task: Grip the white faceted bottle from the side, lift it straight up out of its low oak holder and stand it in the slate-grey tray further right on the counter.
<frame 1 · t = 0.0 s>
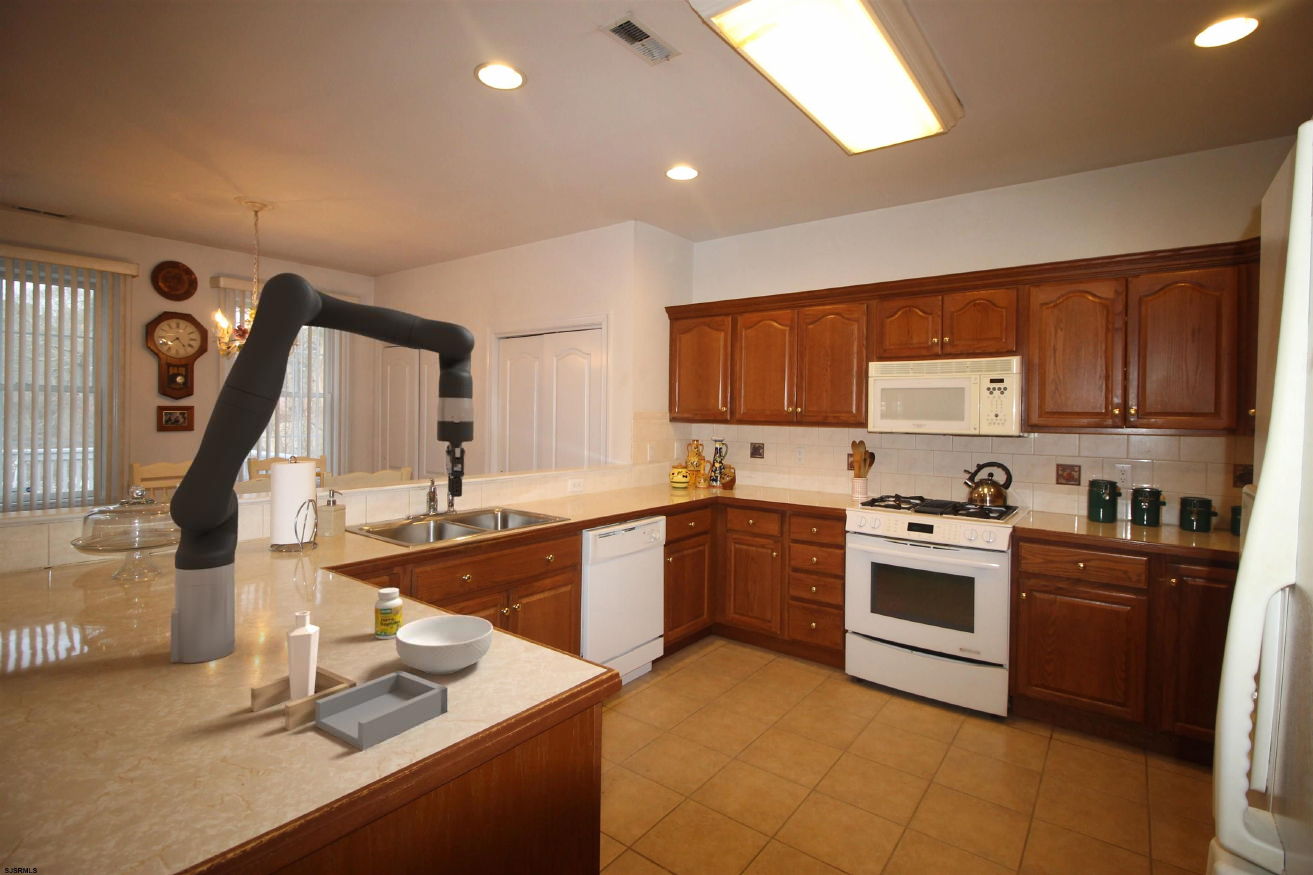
hand: (454, 494, 135), 29 cm above the counter, tool pointing down, fingers open, 8 cm apart
grey tray: (383, 718, 94), on the counter
cereal bowl: (445, 667, 115), on the counter
oak holder: (300, 708, 97), on the counter
white faceted bottle: (300, 709, 97), on the counter
supplement bottle: (388, 636, 130), on the counter
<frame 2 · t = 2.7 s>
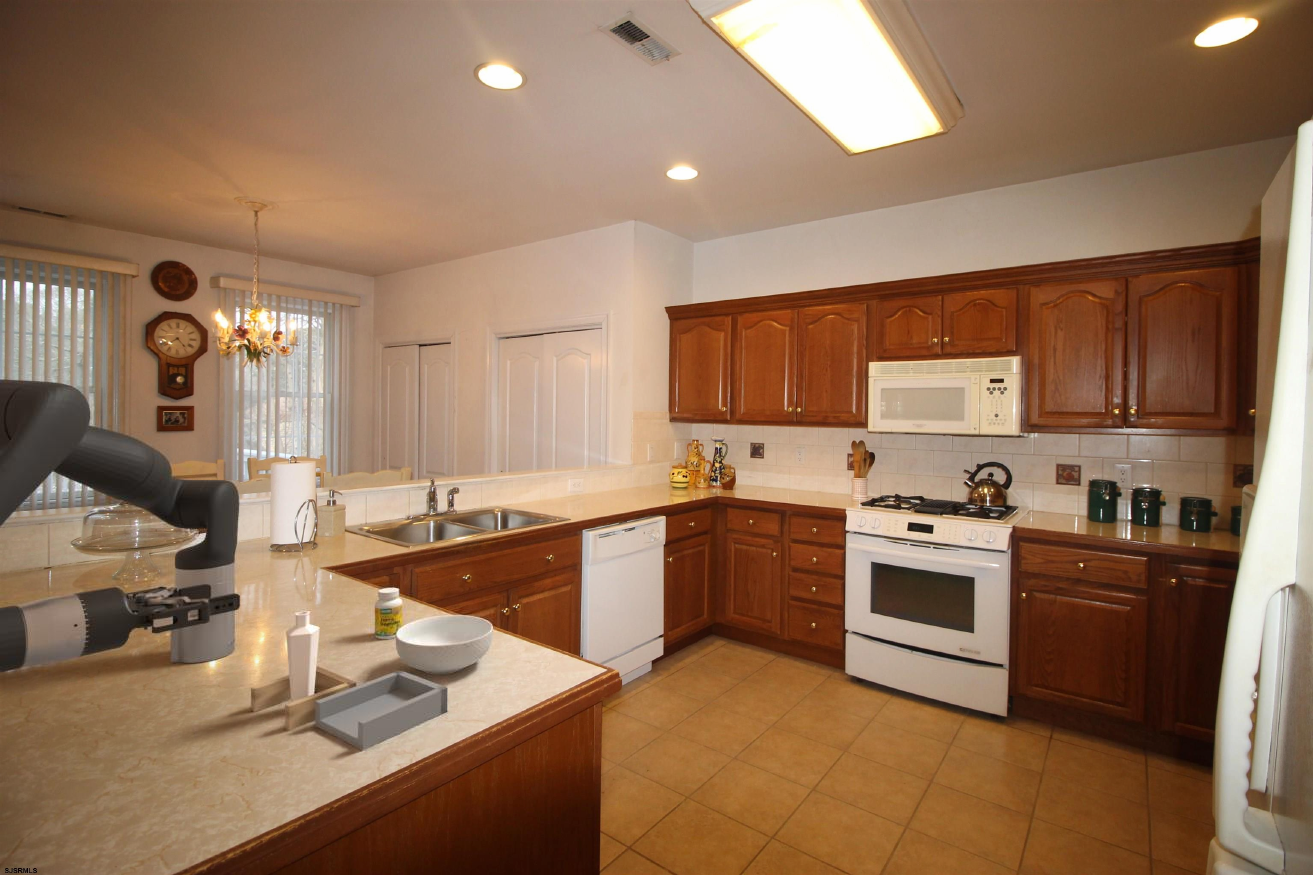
hand: (223, 595, 88), 20 cm above the counter, tool horizontal, fingers open, 8 cm apart
nothing on the counter moved.
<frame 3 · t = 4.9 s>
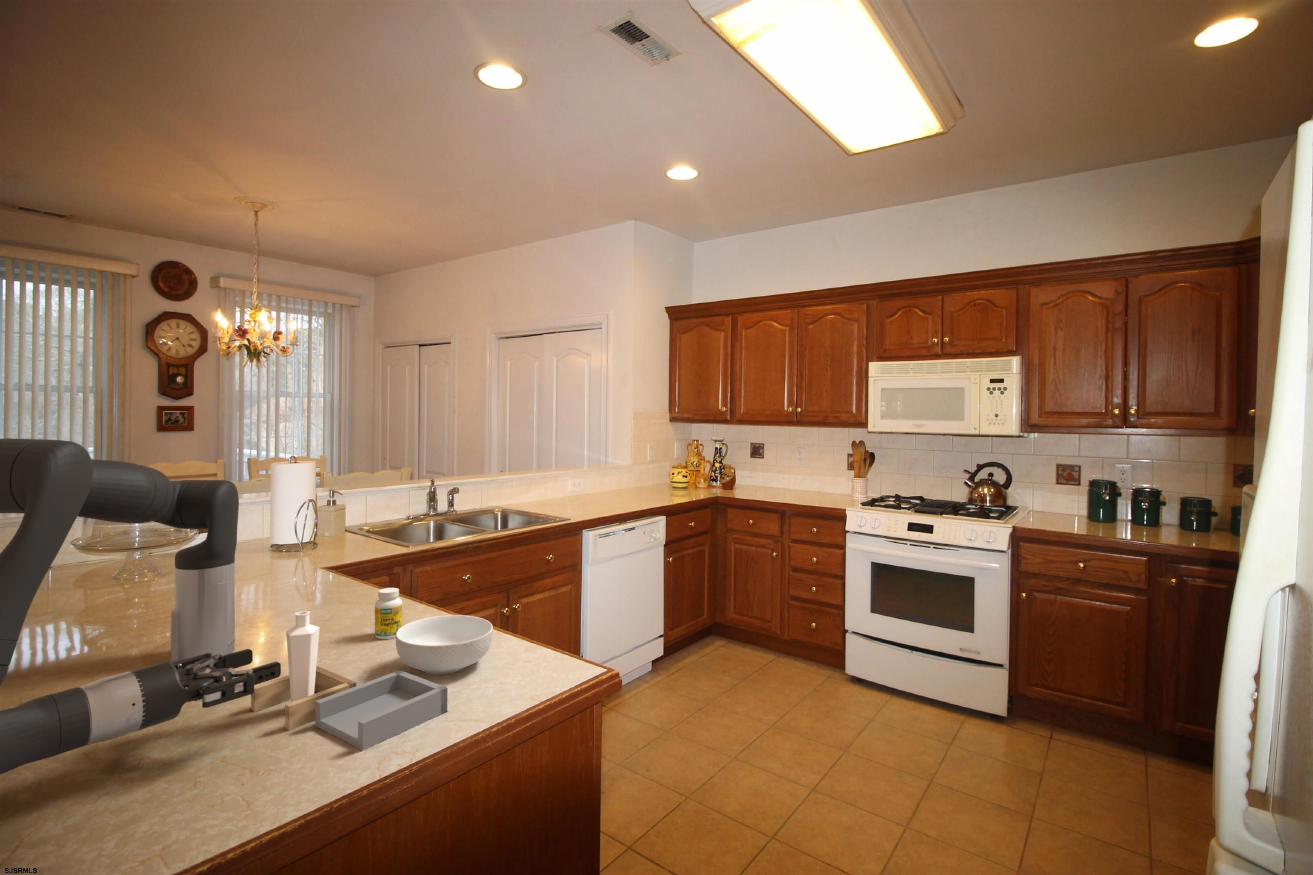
hand: (265, 661, 93), 9 cm above the counter, tool horizontal, fingers open, 8 cm apart
nothing on the counter moved.
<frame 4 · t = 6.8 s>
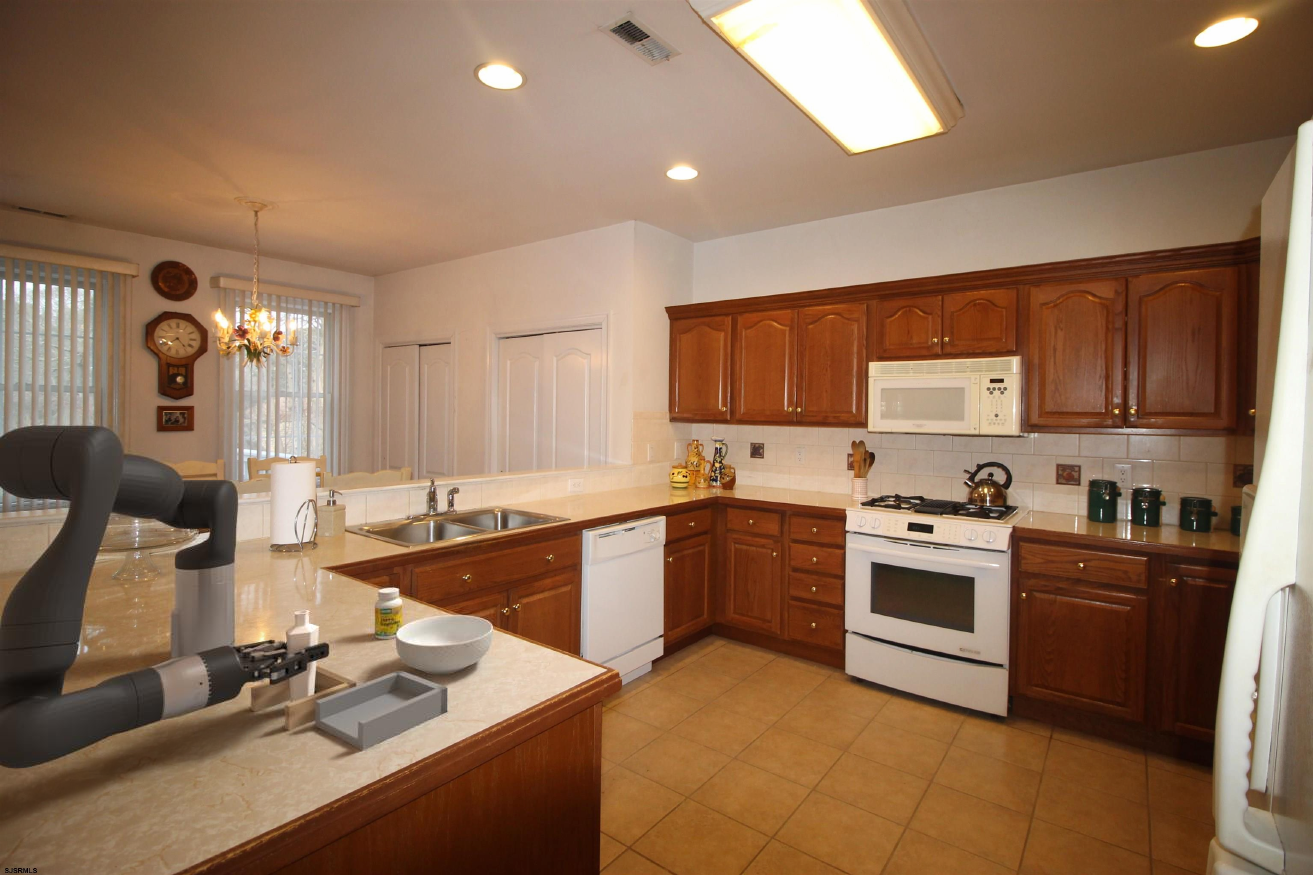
hand: (318, 645, 99), 9 cm above the counter, tool horizontal, fingers closed on white faceted bottle, 4 cm apart
white faceted bottle: (300, 709, 97), on the counter, touching gripper
everything else where it was.
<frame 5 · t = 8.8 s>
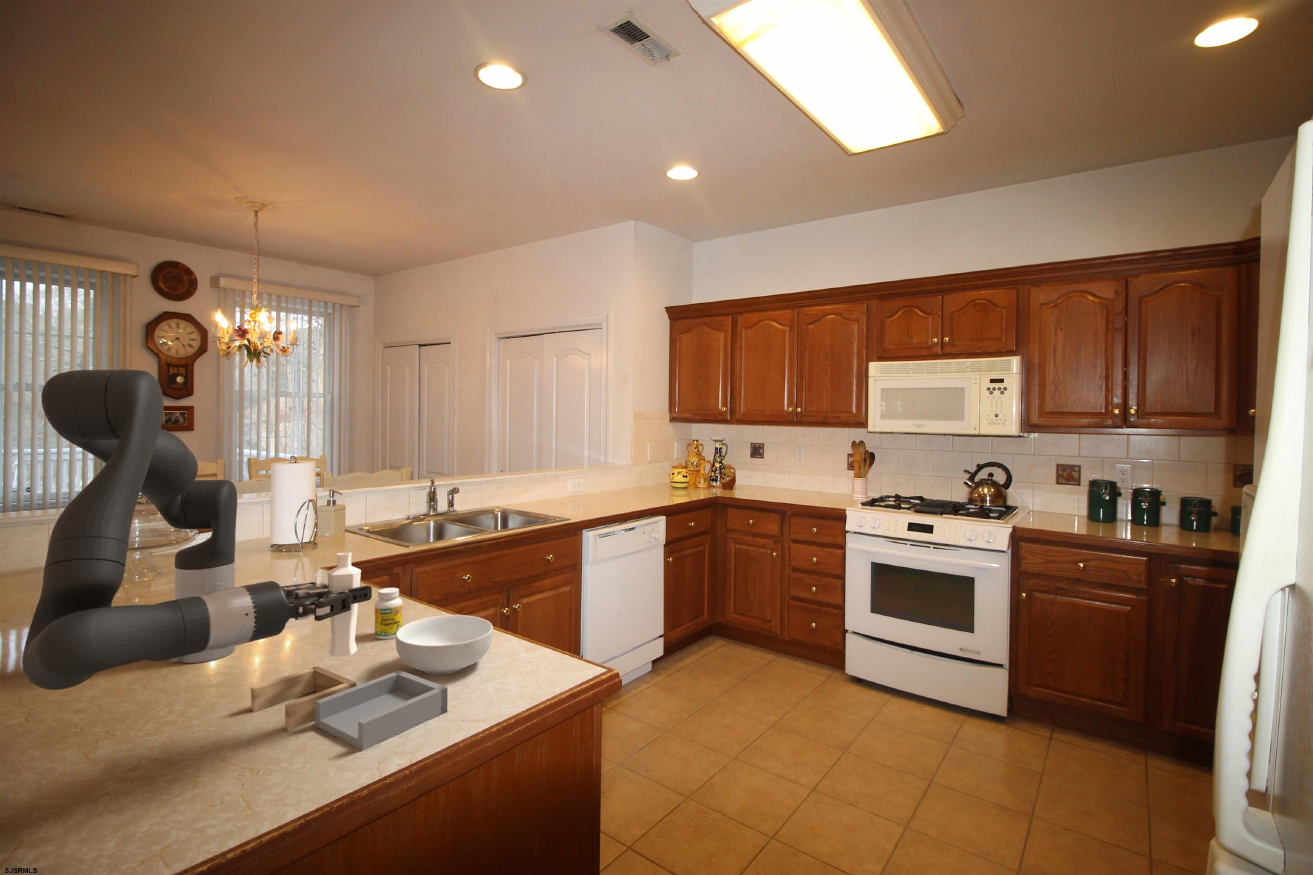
hand: (360, 589, 97), 19 cm above the counter, tool horizontal, fingers closed on white faceted bottle, 4 cm apart
white faceted bottle: (341, 653, 94), point 10 cm above the counter, touching gripper
everything else where it was.
when the fingers open (11 cm above the counter, at t = 11.0 s): white faceted bottle stays where it is, resting on grey tray.
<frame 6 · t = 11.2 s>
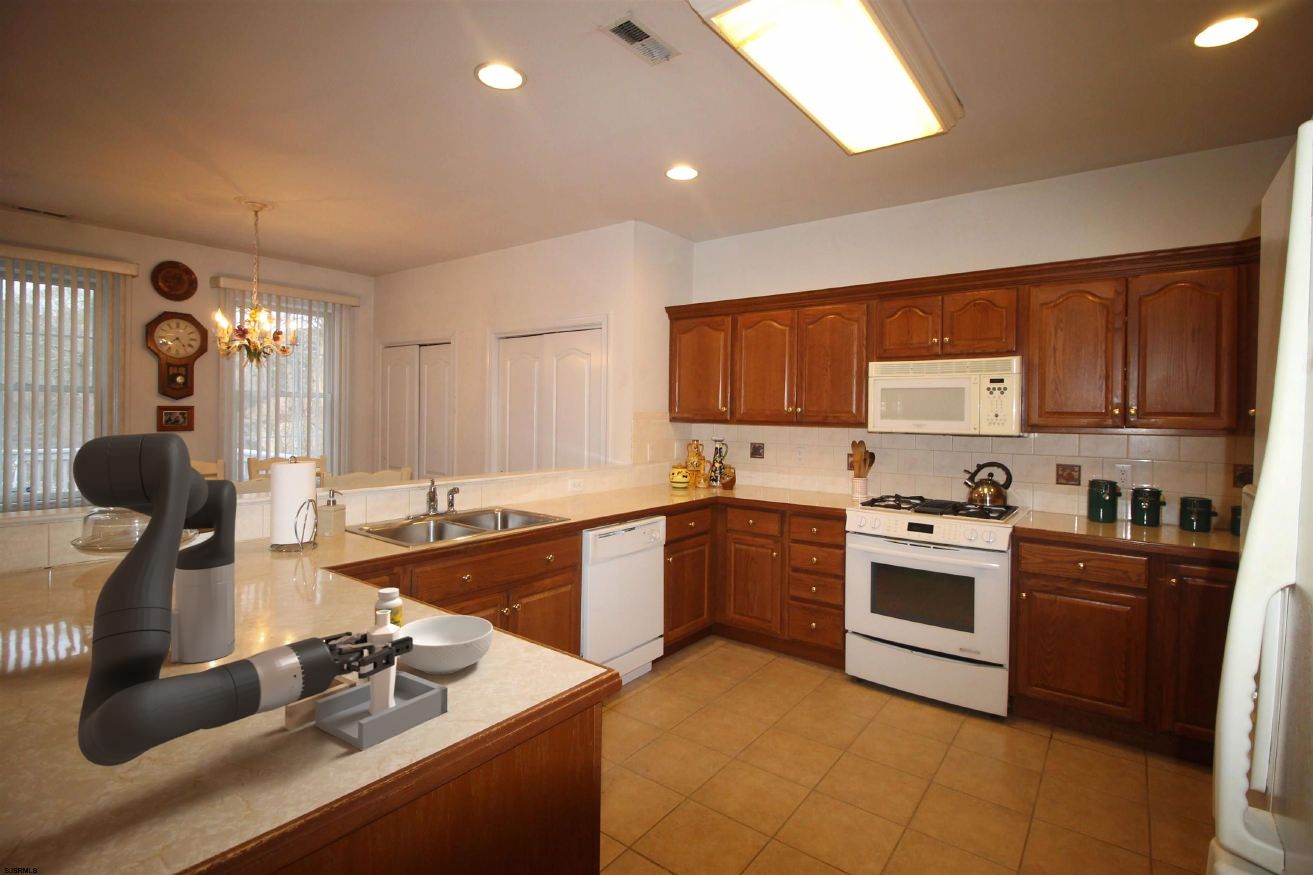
hand: (398, 638, 96), 11 cm above the counter, tool horizontal, fingers open, 5 cm apart
white faceted bottle: (380, 710, 94), point 1 cm above the counter, touching grey tray
everything else where it was.
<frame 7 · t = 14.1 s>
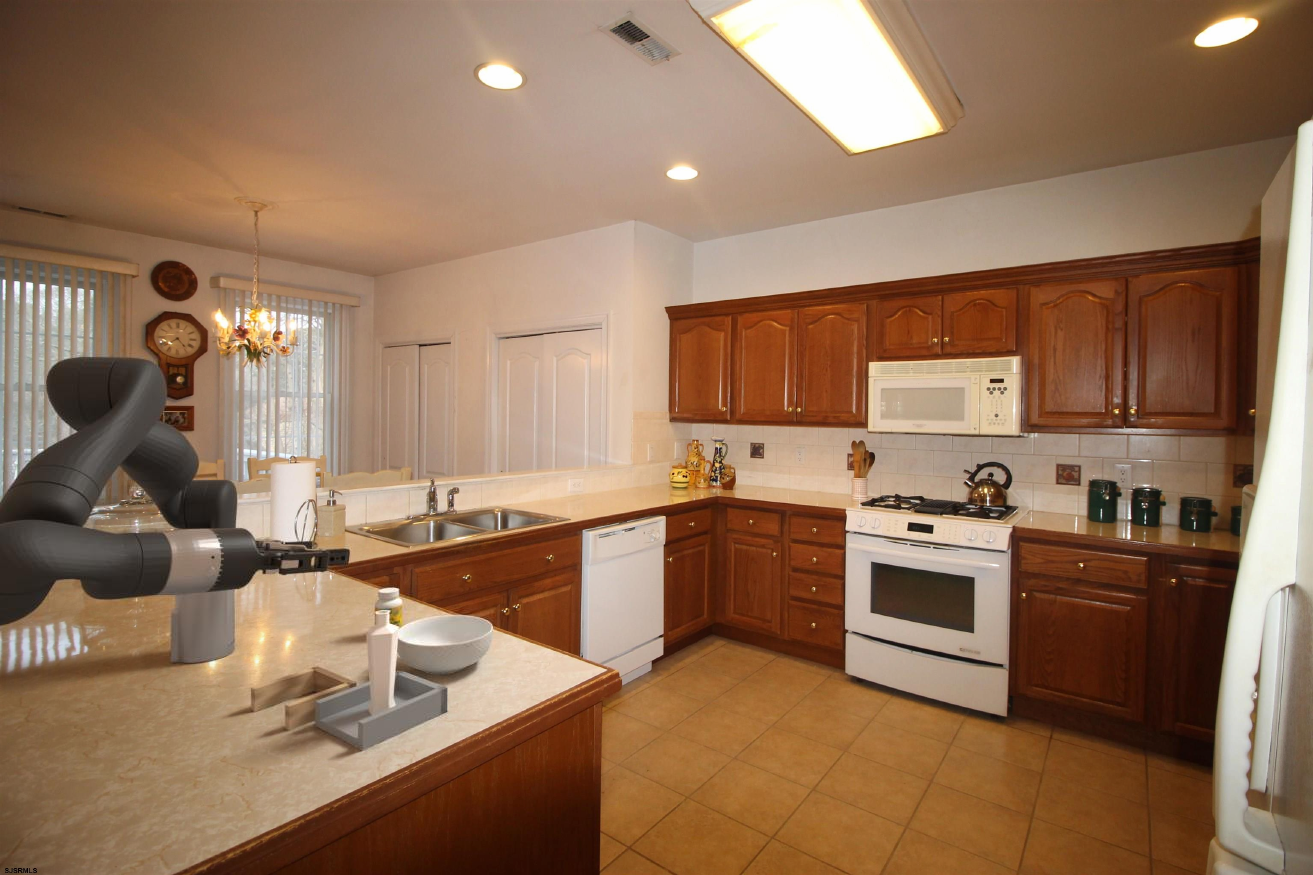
hand: (328, 552, 88), 26 cm above the counter, tool horizontal, fingers open, 8 cm apart
nothing on the counter moved.
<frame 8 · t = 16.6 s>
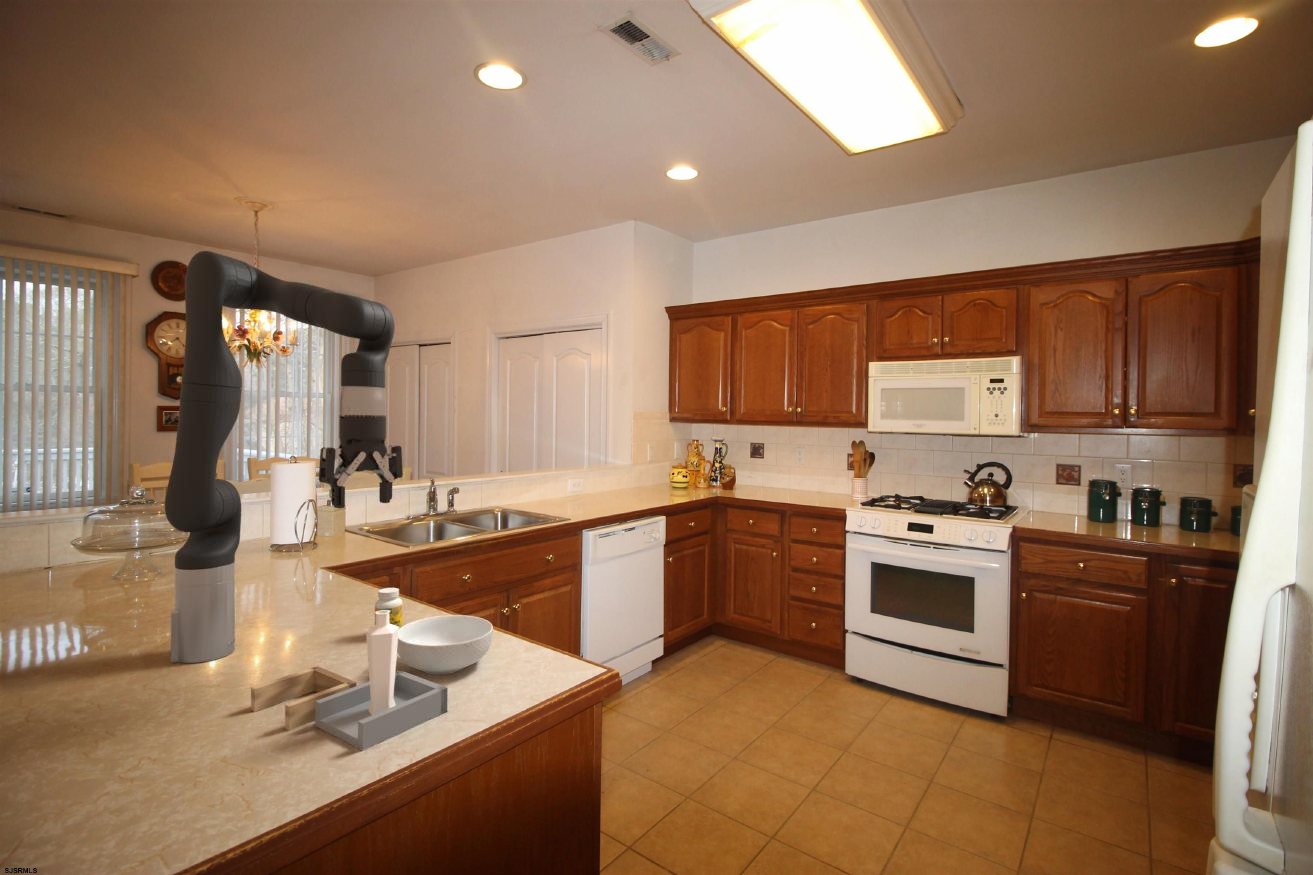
hand: (362, 505, 110), 30 cm above the counter, tool pointing down, fingers open, 8 cm apart
nothing on the counter moved.
at the end: white faceted bottle inside the target area on the grey tray (0.6 cm from its centre), point 1.0 cm above the grey tray's base; white faceted bottle tilted 0°; the gripper is holding nothing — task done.
